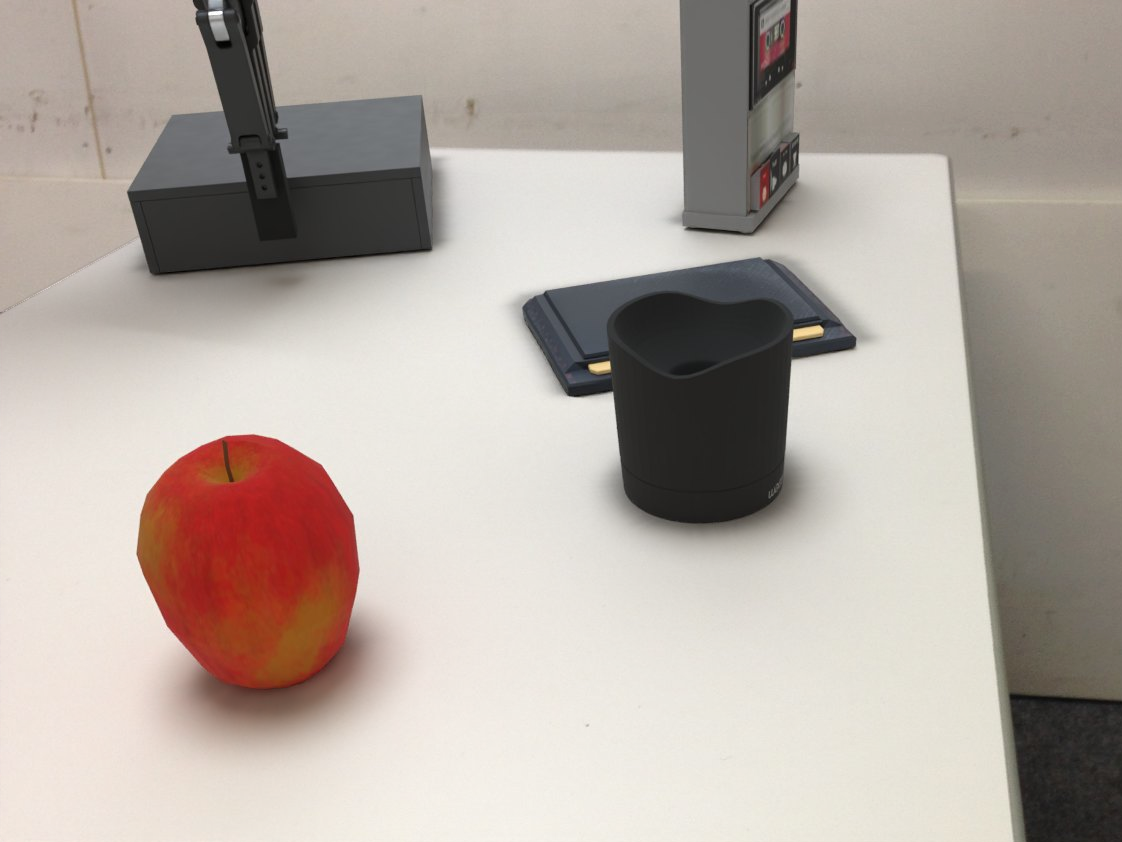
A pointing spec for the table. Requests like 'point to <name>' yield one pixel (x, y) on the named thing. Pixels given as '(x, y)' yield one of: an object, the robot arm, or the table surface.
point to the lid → (314, 183)
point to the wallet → (583, 311)
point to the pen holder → (701, 403)
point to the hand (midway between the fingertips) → (279, 235)
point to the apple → (251, 560)
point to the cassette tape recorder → (737, 110)
